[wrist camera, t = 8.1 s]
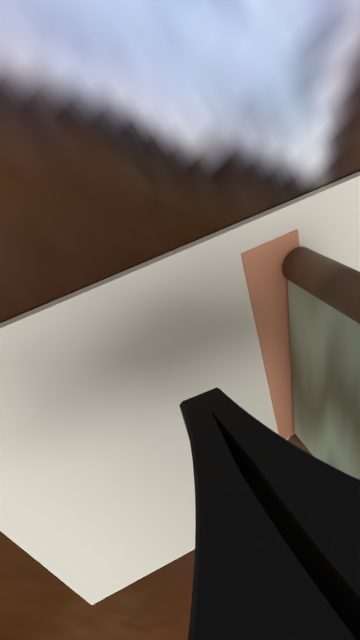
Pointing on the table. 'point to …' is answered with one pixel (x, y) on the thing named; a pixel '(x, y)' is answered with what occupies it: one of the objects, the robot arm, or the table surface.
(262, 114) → the table surface
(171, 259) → the card
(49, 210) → the table surface
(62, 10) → the table surface
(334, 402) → the fence panel
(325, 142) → the table surface
